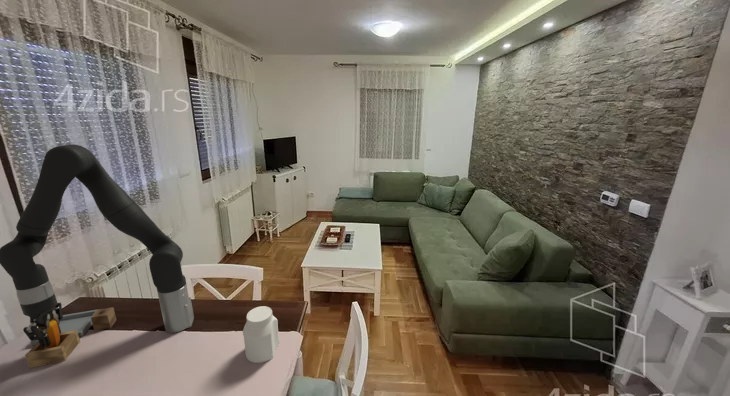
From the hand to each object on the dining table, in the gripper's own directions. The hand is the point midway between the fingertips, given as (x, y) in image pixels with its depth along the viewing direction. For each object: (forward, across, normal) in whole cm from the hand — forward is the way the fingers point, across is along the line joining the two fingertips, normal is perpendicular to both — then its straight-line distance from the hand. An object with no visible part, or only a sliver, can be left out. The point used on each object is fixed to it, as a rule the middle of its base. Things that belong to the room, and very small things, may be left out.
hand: (51, 340), depth 96 cm
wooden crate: (+6, 0, 0) cm, 6 cm away
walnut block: (+6, +12, -9) cm, 16 cm away
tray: (+6, +14, +3) cm, 15 cm away
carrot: (+5, 0, 0) cm, 5 cm away
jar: (+6, -21, -67) cm, 70 cm away
